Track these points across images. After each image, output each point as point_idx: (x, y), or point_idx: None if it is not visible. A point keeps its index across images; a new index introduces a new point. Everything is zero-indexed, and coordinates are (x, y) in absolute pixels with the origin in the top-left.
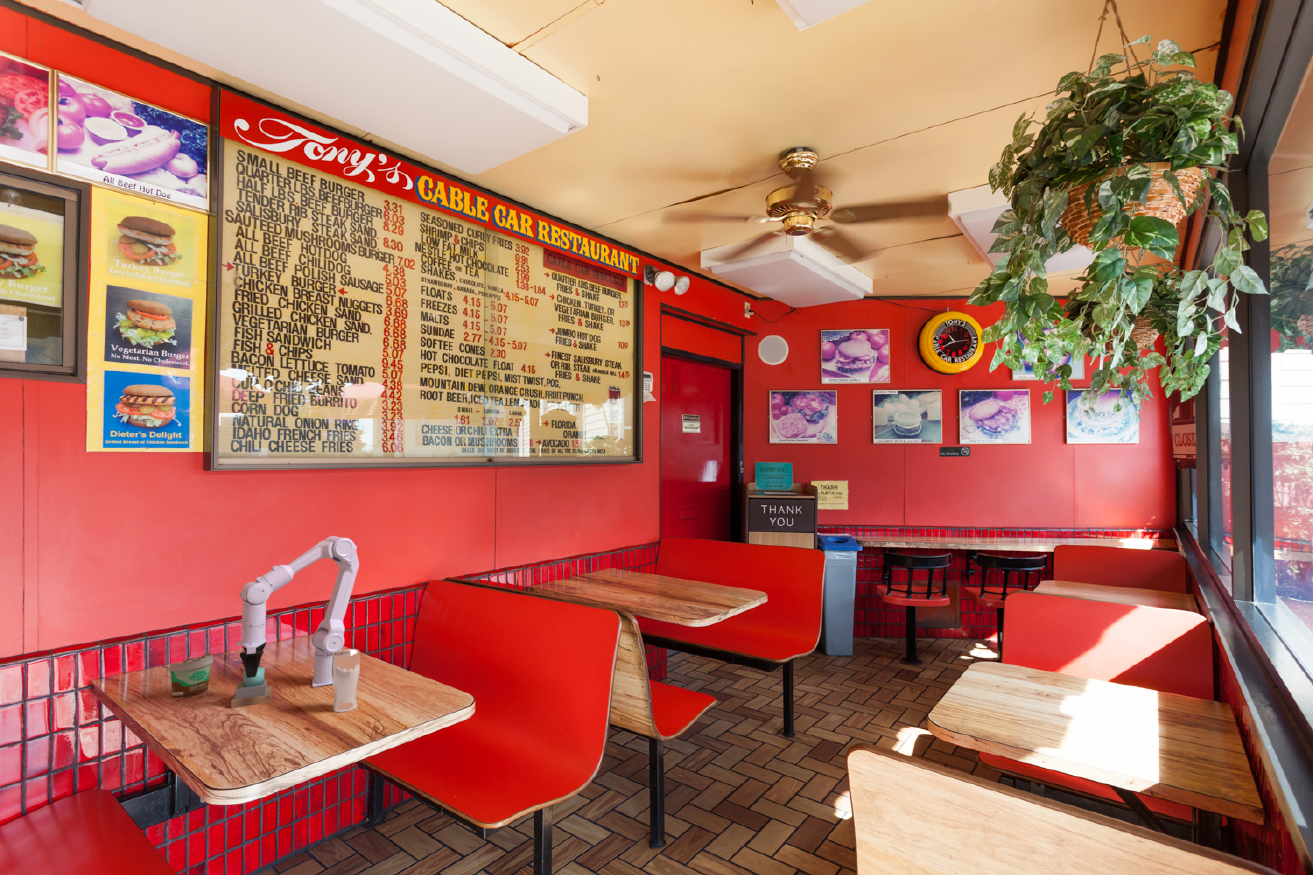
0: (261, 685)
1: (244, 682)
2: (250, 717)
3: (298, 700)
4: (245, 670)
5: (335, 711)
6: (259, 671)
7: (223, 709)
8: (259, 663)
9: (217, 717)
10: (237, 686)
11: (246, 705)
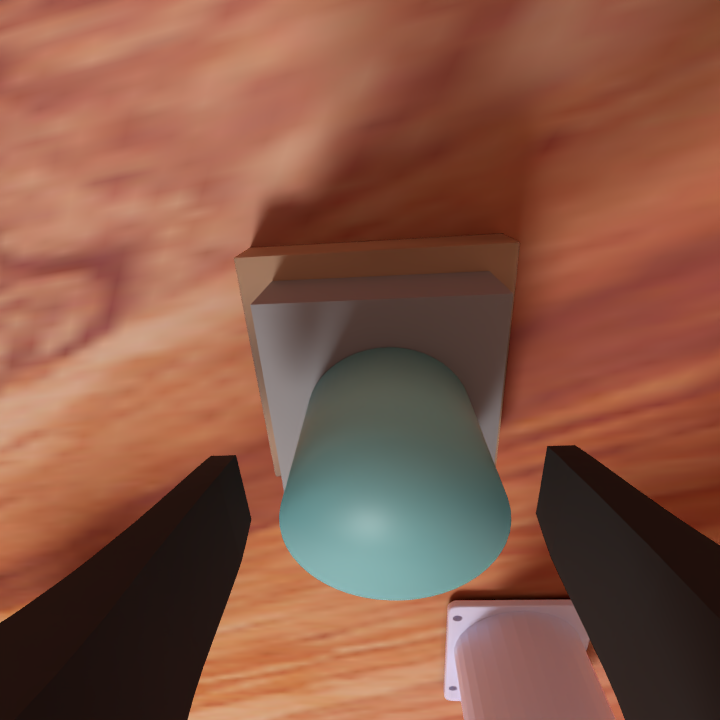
0: None
1: (333, 381)
2: (37, 385)
3: (260, 556)
4: (143, 516)
5: None
6: (307, 565)
7: (239, 196)
8: (564, 583)
9: (66, 186)
10: (373, 302)
11: None
